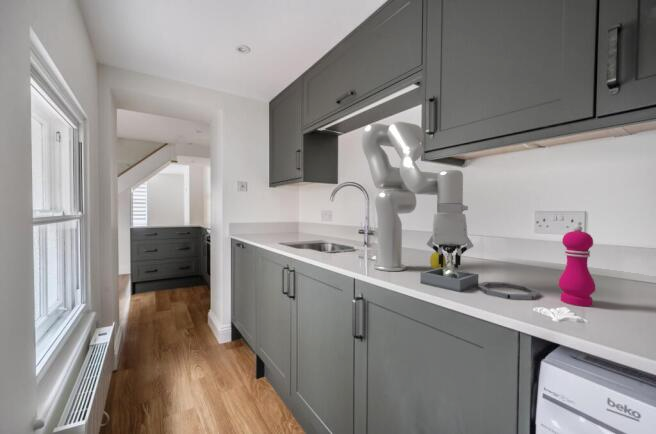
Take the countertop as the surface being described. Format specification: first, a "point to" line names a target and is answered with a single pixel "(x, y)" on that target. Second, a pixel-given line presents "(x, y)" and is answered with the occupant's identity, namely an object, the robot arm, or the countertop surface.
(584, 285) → the pepper mill
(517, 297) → the segmented octagonal ring
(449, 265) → the valve
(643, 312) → the countertop surface
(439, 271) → the bin
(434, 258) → the lemon
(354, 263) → the countertop surface
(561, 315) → the acanthus leaf ornament
